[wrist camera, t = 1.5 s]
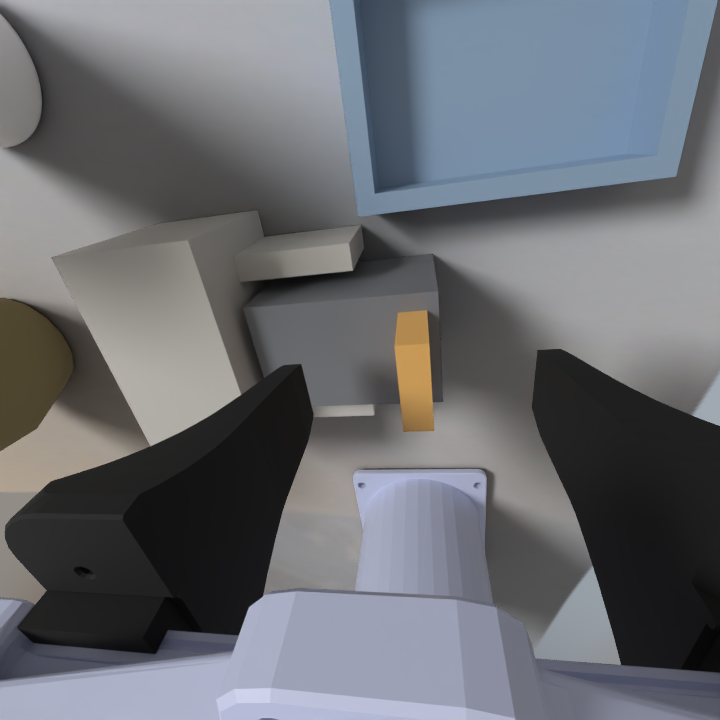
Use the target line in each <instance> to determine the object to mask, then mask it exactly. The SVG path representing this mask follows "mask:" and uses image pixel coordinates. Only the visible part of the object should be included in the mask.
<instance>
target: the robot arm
mask: <svg viewBox="0 0 720 720" xmlns="http://www.w3.org/2000/svg"><path fill="white" fill-rule="evenodd" d="M532 409H533V413H534V416H535V420H536V423H537V427H538V430H539V433H540V436H541V438H542V441H543V443H544V445H545V447H546V450H547V452H548V454H549V456H550V458H551V460H552V463H553V465H554V467H555V469H556V471H557V473H558V475H559V478H560V480H561V482H562V484H563V486H564V488H565V490H566V493H567V495H568V497H569V499H570V501H571V504H572V506H573V509H574V511H575V513H576V516H577V519H578V522H579V525H580V528H581V531H582V534H583V537H584V540H585V543H586V546H587V549H588V552H589V555H590V558H591V561H592V564H593V568H594V571H595V574H596V577H597V580H598V583H599V587H600V590H601V594H602V597H603V601H604V604H605V607H606V611H607V614H608V618H609V621H610V625H611V628H612V631H613V635H614V639H615V642H616V646H617V650H618V654H619V658H620V661H621V665H612V664H599V663H587V662H574V661H573V662H572V661H561V660H547V659H535V656H534V652H533V647H532V643H531V641H530V638H529V636H528V633H527V631H526V628H525V625H524V624H523V623H521V622H520V621H519V620H517V619H516V618H515V617H513V616H511V615H510V614H508V613H506V612H505V611H503V610H501V609H500V608H498V607H496V606H495V605H494V604H493V598H492V592H491V586H490V580H489V574H488V568H487V562H486V556H485V525H486V493H487V477H486V473H485V472H484V471H483V470H481V469H395V470H357V471H355V472H354V474H353V482H354V487H355V492H356V497H357V502H358V507H359V512H360V517H361V522H362V527H363V537H362V544H361V551H360V559H359V566H358V573H357V581H356V588H355V591H347V590H327V589H308V588H296V589H288V590H279V591H272V592H270V593H268V594H266V595H264V596H263V593H264V588H265V583H266V578H267V573H268V569H269V564H270V560H271V556H272V551H273V547H274V543H275V538H276V535H277V531H278V527H279V523H280V519H281V515H282V511H283V508H284V505H285V502H286V499H287V496H288V494H289V491H290V488H291V486H292V483H293V480H294V478H295V475H296V472H297V470H298V467H299V465H300V462H301V459H302V456H303V454H304V451H305V448H306V445H307V443H308V439H309V435H310V431H311V426H312V421H313V416H314V413H313V409H312V405H311V401H310V397H309V393H308V389H307V385H306V381H305V377H304V373H303V369H302V365H301V364H292V365H283V366H281V367H279V368H278V369H276V370H275V371H273V372H272V373H270V374H269V375H268V376H266V377H265V378H263V379H262V380H261V381H259V382H258V383H257V384H255V385H254V386H253V387H251V388H250V389H248V390H247V391H246V392H244V393H243V394H242V395H240V396H239V397H237V398H236V399H234V400H233V401H231V402H230V403H228V404H227V405H225V406H224V407H222V408H221V409H219V410H218V411H216V412H215V413H213V414H212V415H210V416H208V417H207V418H205V419H203V420H202V421H200V422H198V423H196V424H195V425H193V426H191V427H189V428H187V429H185V430H184V431H182V432H180V433H178V434H176V435H173V436H171V437H169V438H167V439H165V440H163V441H161V442H159V443H156V444H154V445H152V446H150V447H148V448H146V449H143V450H141V451H138V452H136V453H133V454H131V455H128V456H126V457H123V458H121V459H118V460H115V461H113V462H110V463H107V464H104V465H101V466H99V467H95V468H92V469H89V470H86V471H83V472H80V473H77V474H73V475H70V476H67V477H64V478H61V479H57V480H54V481H51V482H50V483H49V484H47V485H46V486H45V487H44V488H43V489H42V490H41V491H40V492H39V493H38V494H37V495H36V496H35V497H34V498H32V499H31V500H30V501H29V502H28V503H27V504H26V505H25V506H24V507H23V508H22V509H21V510H20V511H19V512H17V513H16V514H15V515H14V516H13V517H12V518H11V519H10V521H9V522H8V523H7V524H6V526H5V539H6V542H7V544H8V547H9V549H10V550H11V551H12V553H13V554H14V555H15V557H16V558H17V559H18V560H19V561H20V562H21V563H22V564H23V565H24V566H25V568H26V569H27V570H28V571H29V572H30V573H31V574H32V575H33V576H34V577H35V578H36V579H37V581H39V583H40V584H41V585H42V586H43V587H44V588H45V589H46V590H47V591H46V592H45V594H44V595H43V596H42V597H41V599H40V600H39V601H38V602H37V603H36V605H34V604H33V603H31V602H28V601H26V600H22V599H14V598H0V720H720V426H718V425H715V424H712V423H710V422H707V421H704V420H702V419H699V418H697V417H694V416H692V415H689V414H687V413H684V412H682V411H680V410H677V409H675V408H672V407H670V406H667V405H665V404H663V403H661V402H659V401H656V400H654V399H652V398H650V397H648V396H646V395H644V394H642V393H640V392H638V391H636V390H634V389H632V388H630V387H628V386H626V385H624V384H622V383H621V382H619V381H617V380H615V379H613V378H611V377H610V376H608V375H606V374H604V373H603V372H601V371H599V370H597V369H596V368H594V367H592V366H590V365H589V364H587V363H585V362H584V361H582V360H580V359H578V358H577V357H575V356H573V355H571V354H570V353H568V352H566V351H564V350H562V349H551V350H538V352H537V362H536V372H535V382H534V392H533V402H532ZM362 483H364V484H362ZM476 483H478V484H476Z"/></svg>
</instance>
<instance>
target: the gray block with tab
mask: <svg viewBox="0 0 720 720" xmlns="http://www.w3.org/2000/svg"><path fill="white" fill-rule="evenodd" d="M243 310H244V314H245V317H246V320H247V324H248V327H249V330H250V334H251V337H252V340H253V343H254V347H255V350H256V353H257V357H258V360H259V363H260V366H261V370H262V373H263V376H264V378H265V377H266V376H268V375H269V374H270V373H272V372H273V371H275V370H276V369H278V368H279V367H281V366H283V365H292V364H301V365H302V369H303V373H304V377H305V381H306V385H307V389H308V393H309V397H310V401H311V405H312V407H314V406H340V405H367V404H394V403H400V404H401V413H402V422H403V432H409V431H434V418H433V402H443V396H442V371H441V346H440V322H439V297H438V286H437V280H436V273H435V266H434V260H433V254H427V255H418V256H408V257H399V258H389V259H380V260H370V261H361V262H357V264H356V266H355V268H354V270H353V271H345V272H335V273H325V274H315V275H305V276H295V277H285V278H276V279H273V280H272V281H271V282H270V283H269V284H268V285H267V286H266V287H265V288H264V289H263V290H262V291H260V292H259V293H258V294H257V295H256V296H255V297H254V298H253V299H252V300H251V301H250V302H249V303H248V304H247V305H246V306H245V307H244V308H243Z"/></svg>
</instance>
